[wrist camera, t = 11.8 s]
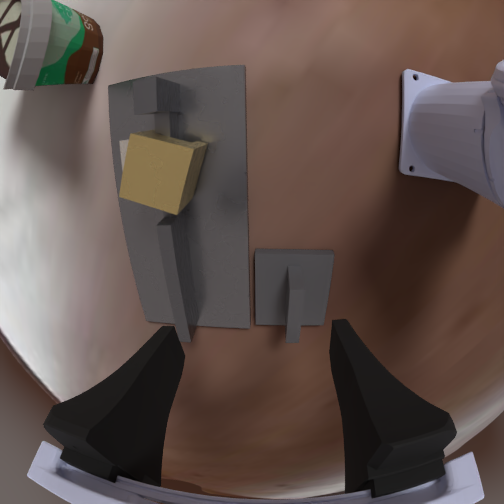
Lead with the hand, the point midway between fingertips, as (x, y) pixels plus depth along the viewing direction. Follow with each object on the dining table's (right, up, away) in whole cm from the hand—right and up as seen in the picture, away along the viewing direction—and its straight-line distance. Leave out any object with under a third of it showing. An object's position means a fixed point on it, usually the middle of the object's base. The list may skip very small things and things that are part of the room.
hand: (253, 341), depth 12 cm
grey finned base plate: (+3, +1, +11) cm, 11 cm away
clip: (-5, +10, +6) cm, 13 cm away
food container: (-15, +22, +2) cm, 26 cm away
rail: (-5, +7, +8) cm, 12 cm away
